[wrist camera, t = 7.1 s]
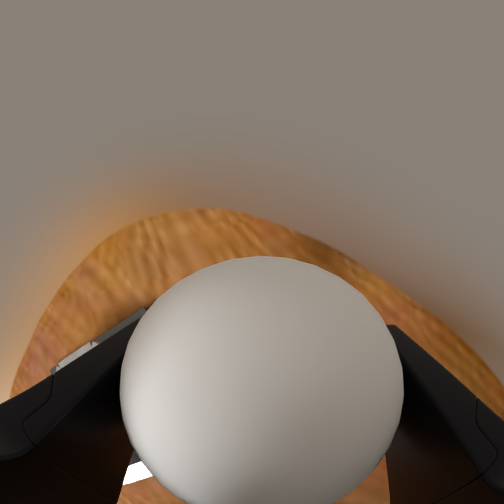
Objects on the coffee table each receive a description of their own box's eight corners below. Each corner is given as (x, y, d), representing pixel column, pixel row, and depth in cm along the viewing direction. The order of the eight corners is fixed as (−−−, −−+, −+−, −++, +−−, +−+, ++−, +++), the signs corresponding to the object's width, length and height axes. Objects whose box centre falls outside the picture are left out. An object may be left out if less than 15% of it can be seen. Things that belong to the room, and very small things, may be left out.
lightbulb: (241, 288, 15) (147, 156, 4) (351, 330, 13) (504, 284, 3) (195, 393, 13) (30, 459, 3) (305, 438, 12) (339, 597, 1)
